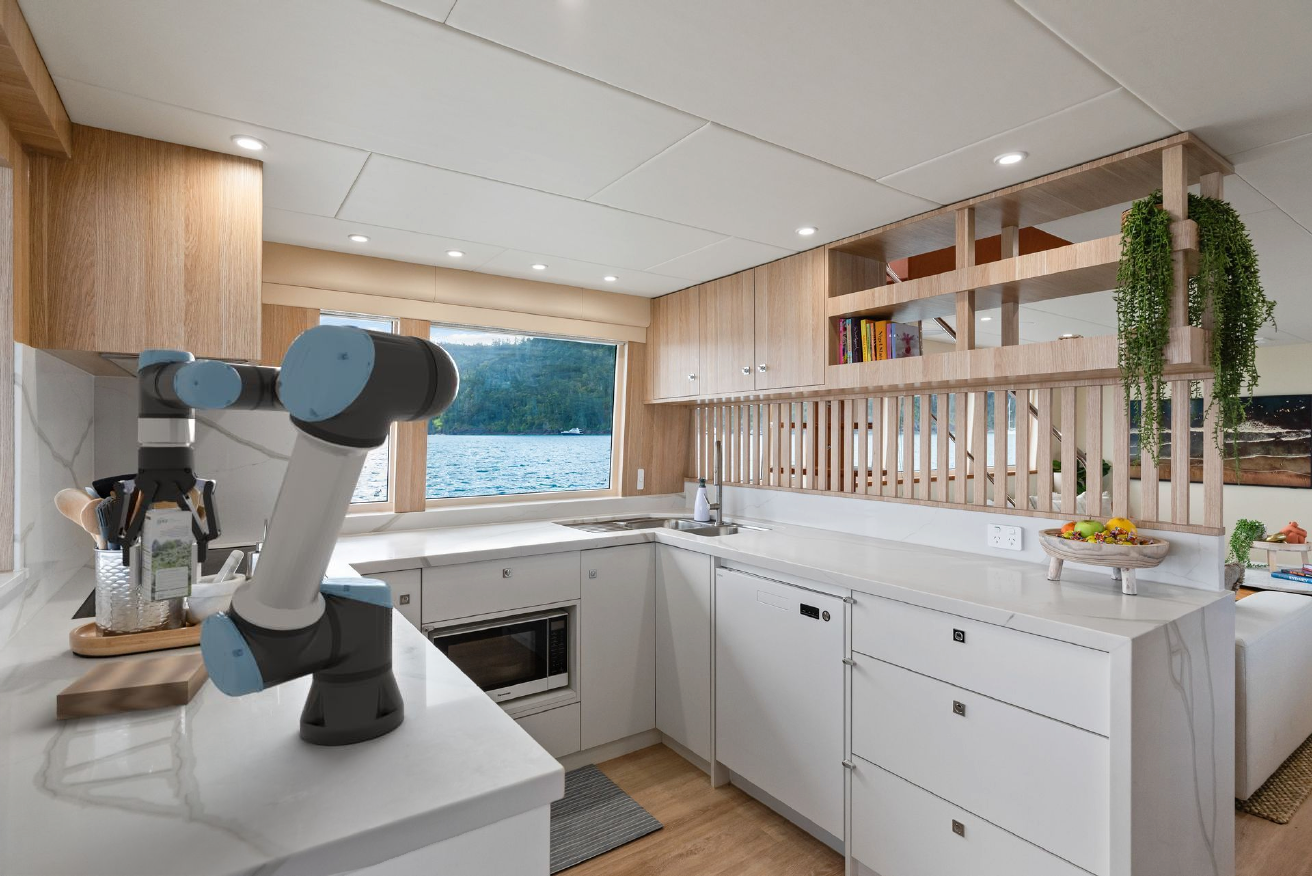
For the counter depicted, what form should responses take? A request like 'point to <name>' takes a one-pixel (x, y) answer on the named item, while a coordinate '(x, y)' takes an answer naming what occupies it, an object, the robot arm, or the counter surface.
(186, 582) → the syrup box
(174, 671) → the block
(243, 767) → the counter surface
